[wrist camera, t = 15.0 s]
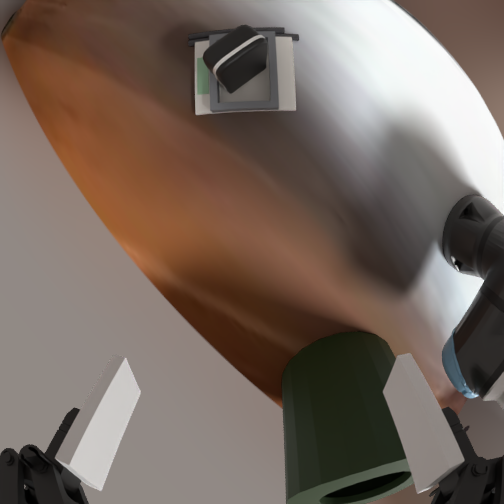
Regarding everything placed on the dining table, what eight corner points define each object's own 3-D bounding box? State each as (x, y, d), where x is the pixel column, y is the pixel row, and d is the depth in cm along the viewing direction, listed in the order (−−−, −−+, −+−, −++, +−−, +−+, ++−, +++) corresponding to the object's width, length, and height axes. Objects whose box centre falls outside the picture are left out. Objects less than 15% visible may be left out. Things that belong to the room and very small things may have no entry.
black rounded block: (251, 50, 30) (246, 15, 19) (268, 67, 31) (270, 36, 20) (212, 78, 32) (193, 52, 21) (229, 96, 33) (215, 74, 22)
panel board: (291, 39, 30) (293, 31, 27) (295, 111, 34) (298, 107, 31) (196, 44, 31) (191, 37, 28) (197, 115, 35) (192, 112, 32)
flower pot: (256, 380, 52) (250, 502, 26) (354, 308, 45) (414, 441, 19) (326, 420, 58) (340, 513, 32) (409, 366, 51) (454, 460, 25)
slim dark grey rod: (297, 29, 29) (297, 27, 28) (298, 41, 30) (299, 38, 29) (190, 35, 30) (188, 33, 29) (190, 47, 31) (188, 44, 30)
